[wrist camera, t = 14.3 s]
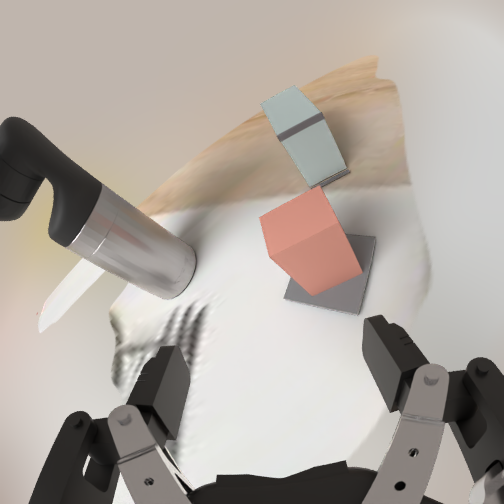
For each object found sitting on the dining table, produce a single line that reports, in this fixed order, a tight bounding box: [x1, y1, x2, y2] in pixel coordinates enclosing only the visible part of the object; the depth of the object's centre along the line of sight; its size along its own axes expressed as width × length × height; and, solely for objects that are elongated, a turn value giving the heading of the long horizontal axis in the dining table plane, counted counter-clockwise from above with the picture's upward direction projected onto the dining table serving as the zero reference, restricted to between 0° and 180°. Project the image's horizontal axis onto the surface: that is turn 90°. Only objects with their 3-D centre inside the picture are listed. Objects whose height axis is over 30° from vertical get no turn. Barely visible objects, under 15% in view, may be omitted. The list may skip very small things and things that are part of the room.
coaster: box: [284, 234, 376, 316], centre depth 27 cm, size 8×8×1 cm
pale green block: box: [261, 85, 350, 189], centre depth 32 cm, size 11×6×9 cm, turn 11°
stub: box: [259, 185, 363, 296], centre depth 23 cm, size 4×6×9 cm
